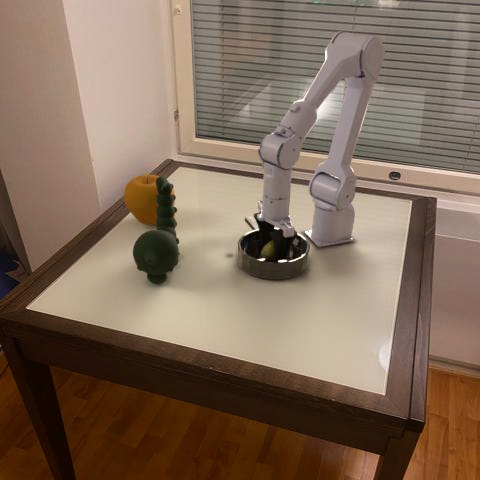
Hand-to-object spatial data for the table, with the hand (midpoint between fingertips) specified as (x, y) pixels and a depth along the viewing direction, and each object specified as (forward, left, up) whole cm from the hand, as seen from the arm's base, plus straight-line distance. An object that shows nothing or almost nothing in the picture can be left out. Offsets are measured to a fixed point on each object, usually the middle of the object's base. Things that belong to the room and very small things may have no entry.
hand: (273, 251), depth 112 cm
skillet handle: (0, -11, +1) cm, 11 cm away
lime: (0, 0, -2) cm, 3 cm away
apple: (+21, -30, -3) cm, 37 cm away
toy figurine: (+24, -7, -3) cm, 25 cm away
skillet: (0, 0, -3) cm, 3 cm away
